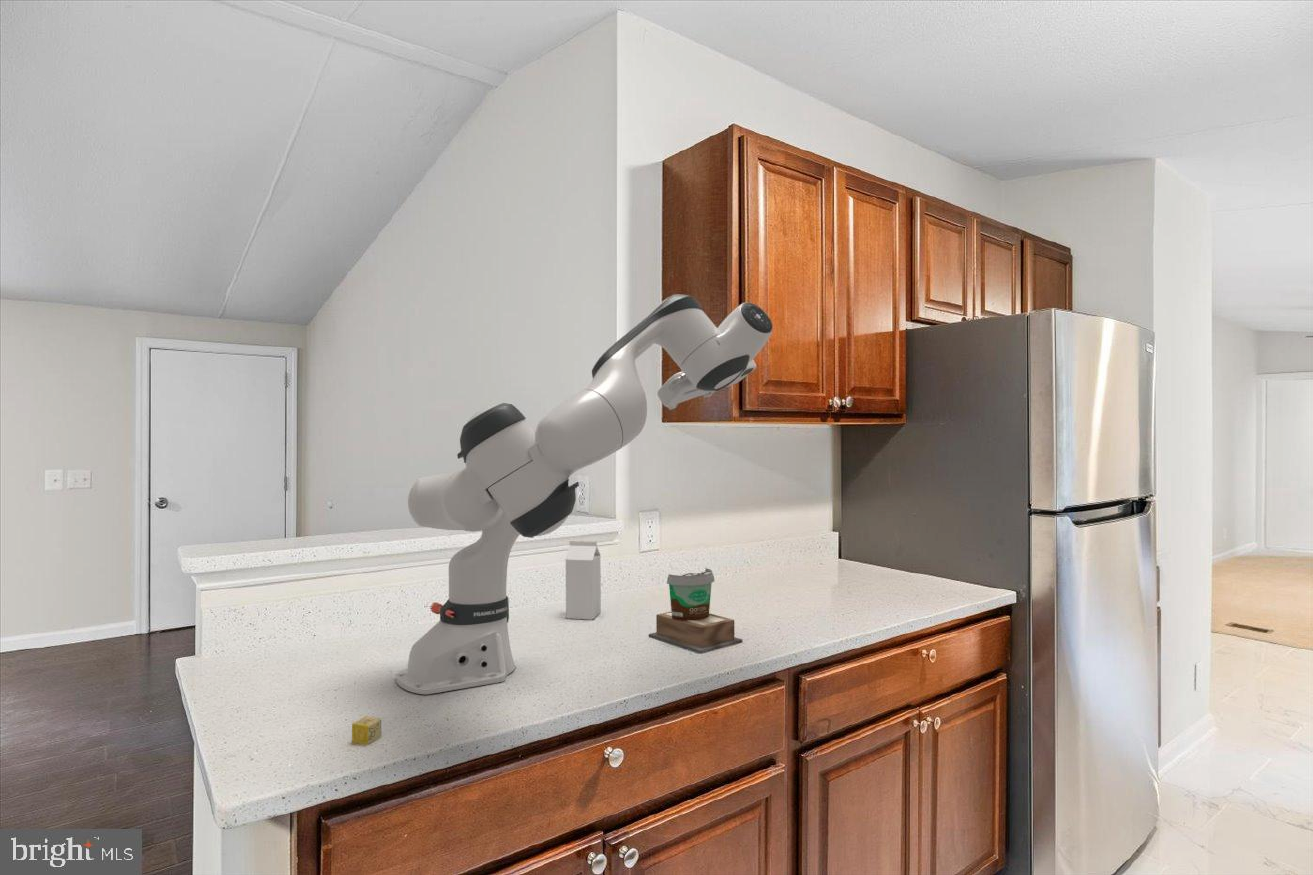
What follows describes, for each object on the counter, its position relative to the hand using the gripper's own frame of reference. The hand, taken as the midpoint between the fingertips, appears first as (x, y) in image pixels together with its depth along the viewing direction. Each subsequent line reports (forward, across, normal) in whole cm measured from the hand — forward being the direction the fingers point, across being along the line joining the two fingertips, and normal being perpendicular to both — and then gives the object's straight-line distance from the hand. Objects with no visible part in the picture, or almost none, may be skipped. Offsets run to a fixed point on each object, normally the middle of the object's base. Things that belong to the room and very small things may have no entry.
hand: (687, 400), depth 155 cm
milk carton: (+61, -17, -24) cm, 68 cm away
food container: (+31, -6, -39) cm, 50 cm away
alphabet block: (+12, -78, -31) cm, 85 cm away
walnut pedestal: (+34, -7, -43) cm, 55 cm away
